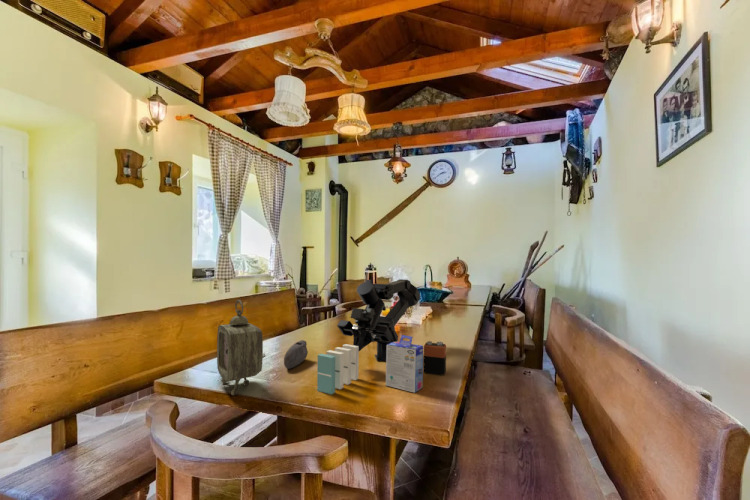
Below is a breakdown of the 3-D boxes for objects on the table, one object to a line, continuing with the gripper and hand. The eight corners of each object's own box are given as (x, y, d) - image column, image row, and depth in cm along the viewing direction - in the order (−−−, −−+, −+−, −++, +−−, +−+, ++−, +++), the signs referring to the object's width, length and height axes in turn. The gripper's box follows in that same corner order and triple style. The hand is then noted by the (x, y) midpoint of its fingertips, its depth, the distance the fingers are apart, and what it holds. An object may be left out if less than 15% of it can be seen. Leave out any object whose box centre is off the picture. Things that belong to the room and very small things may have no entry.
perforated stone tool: (292, 373, 107) (292, 351, 107) (277, 371, 108) (277, 350, 108) (310, 358, 122) (311, 339, 122) (297, 357, 123) (297, 339, 123)
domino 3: (337, 379, 101) (338, 346, 102) (351, 382, 99) (351, 349, 99) (334, 381, 100) (334, 348, 100) (347, 384, 97) (348, 350, 98)
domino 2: (329, 383, 98) (330, 350, 98) (343, 387, 96) (343, 352, 96) (326, 385, 97) (326, 351, 97) (339, 389, 94) (340, 354, 94)
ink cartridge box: (424, 387, 96) (424, 337, 96) (415, 393, 92) (416, 341, 92) (394, 380, 102) (394, 332, 102) (385, 386, 97) (385, 336, 97)
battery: (444, 376, 105) (444, 344, 106) (423, 373, 108) (423, 342, 108) (446, 371, 110) (446, 341, 110) (425, 369, 112) (425, 339, 112)
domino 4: (345, 375, 105) (345, 343, 105) (358, 378, 102) (358, 346, 103) (342, 377, 103) (342, 345, 104) (355, 380, 101) (355, 347, 101)
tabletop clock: (216, 382, 98) (217, 298, 99) (247, 376, 104) (249, 296, 104) (228, 399, 87) (230, 304, 87) (263, 391, 92) (264, 301, 93)
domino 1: (321, 388, 95) (321, 353, 95) (335, 392, 92) (335, 356, 92) (317, 390, 93) (317, 355, 93) (331, 394, 91) (331, 357, 91)
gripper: (340, 296, 114) (319, 335, 105) (388, 300, 105) (370, 343, 95) (353, 315, 121) (334, 353, 111) (399, 321, 112) (383, 363, 102)
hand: (354, 353), depth 105 cm, fingers closed
